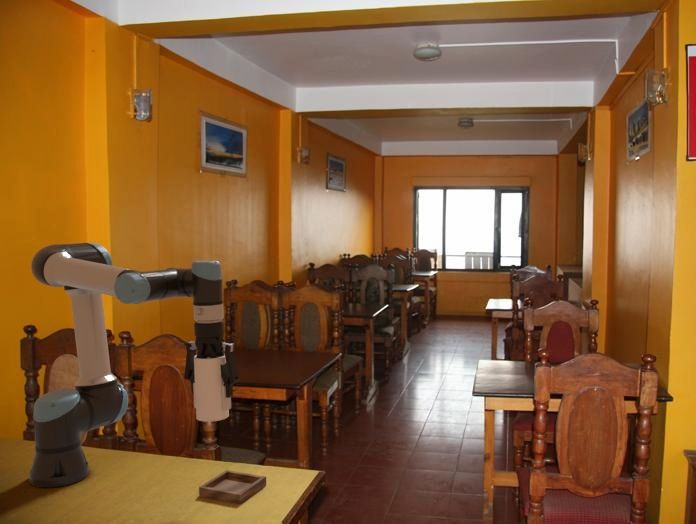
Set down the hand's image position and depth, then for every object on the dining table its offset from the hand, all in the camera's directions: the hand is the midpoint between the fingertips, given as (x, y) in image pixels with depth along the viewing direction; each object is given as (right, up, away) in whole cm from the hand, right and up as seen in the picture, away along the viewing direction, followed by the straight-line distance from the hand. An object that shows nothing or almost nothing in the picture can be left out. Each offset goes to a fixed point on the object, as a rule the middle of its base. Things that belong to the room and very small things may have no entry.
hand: (212, 408), depth 169 cm
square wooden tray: (+5, -22, +2) cm, 23 cm away
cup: (0, -2, 0) cm, 2 cm away
